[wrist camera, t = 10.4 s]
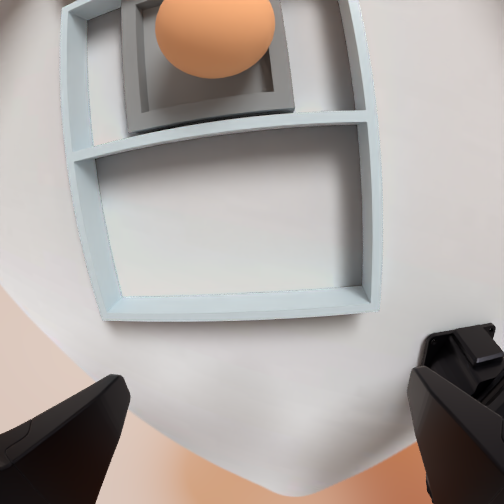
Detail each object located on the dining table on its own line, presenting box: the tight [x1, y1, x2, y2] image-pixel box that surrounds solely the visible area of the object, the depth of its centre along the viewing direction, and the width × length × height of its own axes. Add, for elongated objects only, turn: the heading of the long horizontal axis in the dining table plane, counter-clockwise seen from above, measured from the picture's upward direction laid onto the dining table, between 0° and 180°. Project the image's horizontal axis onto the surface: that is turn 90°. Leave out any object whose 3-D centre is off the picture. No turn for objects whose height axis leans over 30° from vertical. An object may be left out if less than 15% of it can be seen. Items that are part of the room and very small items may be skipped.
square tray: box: [121, 0, 295, 133], centre depth 16 cm, size 10×10×2 cm
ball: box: [155, 0, 275, 79], centre depth 13 cm, size 6×6×6 cm
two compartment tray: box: [60, 0, 383, 322], centre depth 17 cm, size 22×18×2 cm
